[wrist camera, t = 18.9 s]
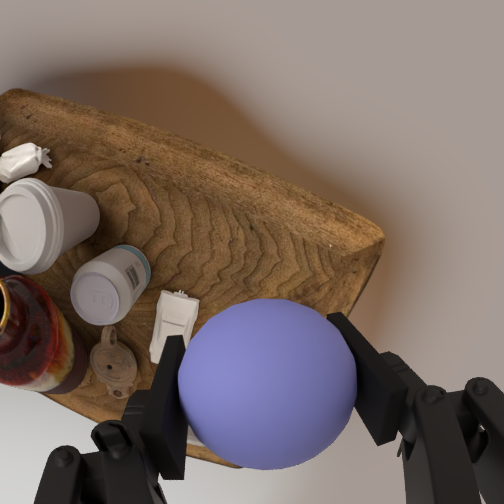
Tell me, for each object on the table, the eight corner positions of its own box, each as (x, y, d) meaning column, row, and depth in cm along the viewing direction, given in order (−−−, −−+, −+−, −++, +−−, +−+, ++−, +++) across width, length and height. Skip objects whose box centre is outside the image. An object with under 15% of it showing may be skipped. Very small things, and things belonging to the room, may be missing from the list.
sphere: (199, 261, 13) (179, 338, 6) (343, 289, 14) (424, 364, 7) (178, 385, 15) (162, 491, 8) (302, 401, 16) (338, 496, 9)
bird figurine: (51, 135, 34) (-2, 156, 31) (37, 133, 28) (-21, 159, 25) (56, 166, 36) (3, 186, 33) (43, 169, 30) (-15, 193, 27)
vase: (93, 397, 36) (36, 388, 15) (29, 391, 32) (-70, 365, 11) (91, 327, 41) (47, 244, 20) (30, 323, 37) (-50, 240, 16)
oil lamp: (141, 392, 42) (134, 412, 37) (98, 382, 41) (88, 400, 36) (141, 321, 40) (132, 337, 35) (94, 311, 39) (80, 325, 34)
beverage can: (106, 239, 37) (65, 259, 25) (155, 247, 38) (128, 272, 26) (103, 288, 38) (65, 323, 26) (149, 297, 39) (124, 338, 27)
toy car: (149, 356, 41) (144, 368, 37) (163, 282, 39) (158, 290, 35) (184, 366, 42) (182, 378, 38) (202, 292, 40) (201, 302, 36)
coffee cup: (47, 190, 34) (-21, 192, 20) (104, 173, 35) (45, 164, 20) (59, 256, 36) (-4, 285, 22) (116, 244, 37) (63, 272, 22)
